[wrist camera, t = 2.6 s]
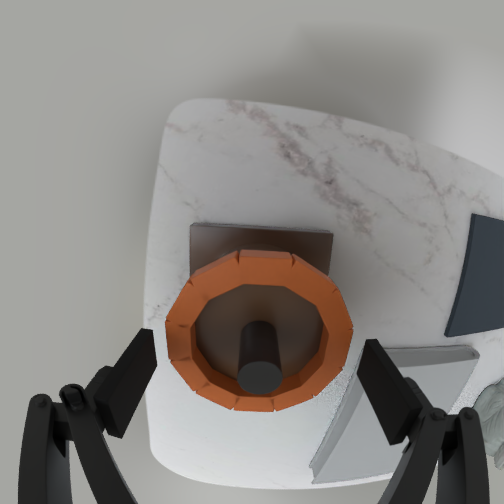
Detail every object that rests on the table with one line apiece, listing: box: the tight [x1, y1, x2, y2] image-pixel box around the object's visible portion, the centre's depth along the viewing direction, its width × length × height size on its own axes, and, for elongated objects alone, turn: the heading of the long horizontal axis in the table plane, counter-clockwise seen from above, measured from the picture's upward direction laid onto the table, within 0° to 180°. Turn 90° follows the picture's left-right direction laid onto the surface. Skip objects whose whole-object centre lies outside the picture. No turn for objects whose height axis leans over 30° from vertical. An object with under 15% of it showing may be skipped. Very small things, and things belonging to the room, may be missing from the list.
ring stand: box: [190, 223, 333, 394], centre depth 20 cm, size 12×12×12 cm
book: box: [309, 345, 480, 484], centre depth 28 cm, size 18×4×24 cm
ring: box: [165, 250, 353, 412], centre depth 17 cm, size 12×12×2 cm
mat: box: [444, 213, 504, 337], centre depth 25 cm, size 15×15×1 cm
